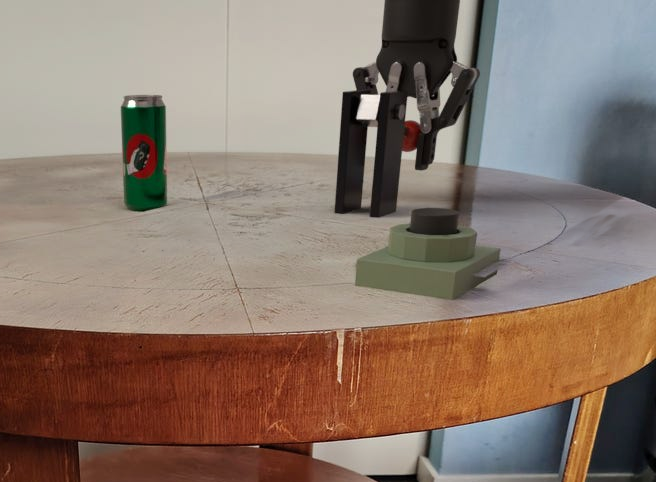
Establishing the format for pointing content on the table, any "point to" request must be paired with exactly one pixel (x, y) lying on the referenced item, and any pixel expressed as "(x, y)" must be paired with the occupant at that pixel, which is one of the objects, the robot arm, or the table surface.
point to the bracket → (385, 153)
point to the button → (434, 221)
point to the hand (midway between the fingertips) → (404, 167)
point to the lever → (369, 118)
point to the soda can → (144, 152)
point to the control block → (427, 263)
